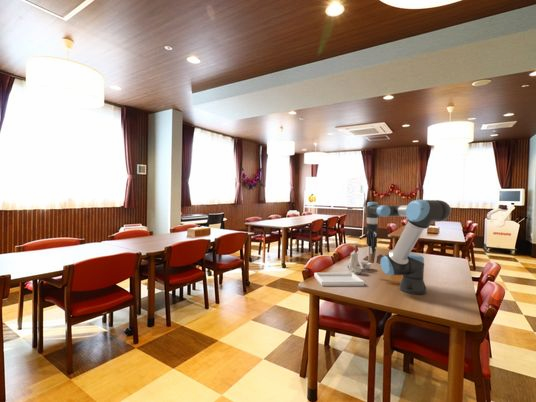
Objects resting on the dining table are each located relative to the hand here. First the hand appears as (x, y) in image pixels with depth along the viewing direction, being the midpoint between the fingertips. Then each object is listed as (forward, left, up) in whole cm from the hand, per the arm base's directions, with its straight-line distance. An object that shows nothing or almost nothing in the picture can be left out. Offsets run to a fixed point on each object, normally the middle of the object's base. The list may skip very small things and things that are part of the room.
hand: (371, 255), depth 195 cm
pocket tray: (-5, +25, -17) cm, 31 cm away
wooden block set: (-2, -2, -5) cm, 6 cm away
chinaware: (+22, +1, -17) cm, 28 cm away
